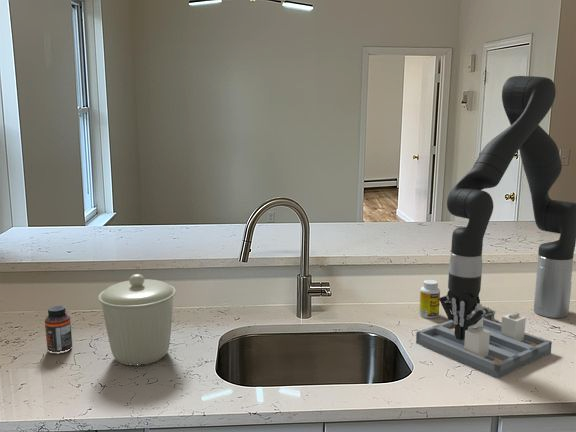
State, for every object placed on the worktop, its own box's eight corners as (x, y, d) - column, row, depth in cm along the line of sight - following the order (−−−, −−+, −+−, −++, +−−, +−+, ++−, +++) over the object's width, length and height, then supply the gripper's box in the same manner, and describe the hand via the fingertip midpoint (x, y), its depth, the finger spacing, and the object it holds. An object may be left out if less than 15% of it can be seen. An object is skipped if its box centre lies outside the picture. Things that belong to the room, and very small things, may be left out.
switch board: (469, 323, 162) (470, 313, 162) (550, 353, 143) (551, 341, 143) (416, 343, 149) (416, 332, 149) (497, 378, 130) (498, 365, 130)
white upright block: (509, 335, 150) (511, 310, 149) (523, 340, 147) (525, 314, 146) (500, 338, 148) (502, 313, 147) (514, 343, 145) (516, 318, 143)
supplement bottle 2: (429, 320, 165) (431, 286, 163) (415, 314, 169) (416, 281, 167) (443, 316, 168) (444, 282, 166) (428, 310, 172) (430, 277, 170)
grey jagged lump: (453, 314, 170) (453, 301, 169) (474, 311, 173) (474, 297, 172) (476, 327, 160) (477, 313, 159) (498, 323, 163) (499, 309, 162)
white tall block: (469, 333, 151) (470, 308, 150) (482, 338, 148) (483, 313, 147) (459, 337, 149) (460, 311, 148) (472, 342, 146) (473, 316, 145)
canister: (129, 381, 130) (123, 291, 126) (88, 358, 142) (82, 275, 138) (193, 355, 143) (190, 273, 139) (151, 335, 155) (147, 259, 151)
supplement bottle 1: (43, 350, 146) (39, 308, 144) (65, 343, 151) (62, 301, 148) (54, 357, 142) (50, 313, 140) (77, 349, 147) (73, 307, 144)
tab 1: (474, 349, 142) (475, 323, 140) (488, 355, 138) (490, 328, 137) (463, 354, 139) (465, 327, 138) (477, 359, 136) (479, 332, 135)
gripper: (498, 275, 135) (493, 344, 139) (452, 262, 146) (448, 326, 149) (478, 281, 131) (473, 352, 135) (433, 267, 141) (429, 333, 145)
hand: (460, 338), depth 142 cm, fingers closed
